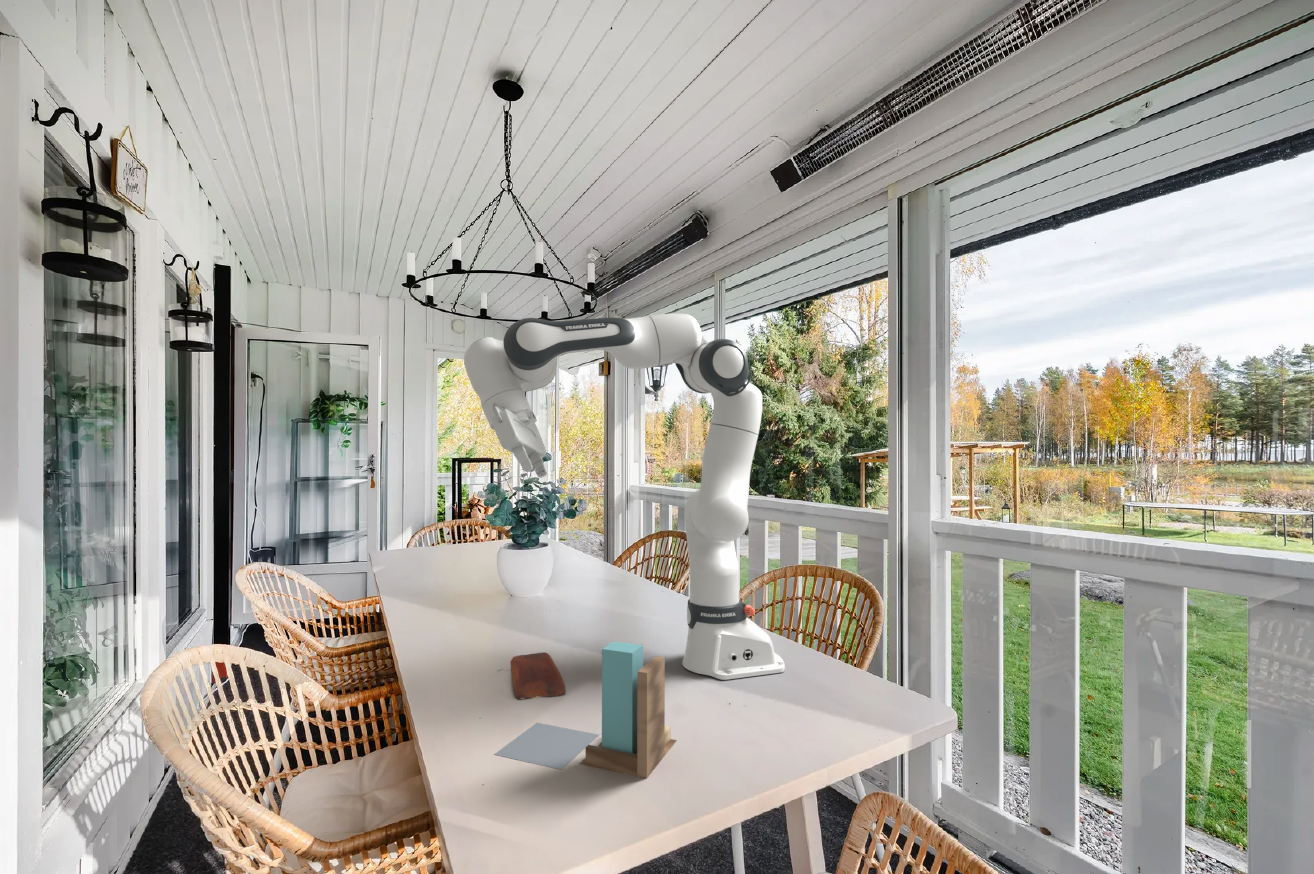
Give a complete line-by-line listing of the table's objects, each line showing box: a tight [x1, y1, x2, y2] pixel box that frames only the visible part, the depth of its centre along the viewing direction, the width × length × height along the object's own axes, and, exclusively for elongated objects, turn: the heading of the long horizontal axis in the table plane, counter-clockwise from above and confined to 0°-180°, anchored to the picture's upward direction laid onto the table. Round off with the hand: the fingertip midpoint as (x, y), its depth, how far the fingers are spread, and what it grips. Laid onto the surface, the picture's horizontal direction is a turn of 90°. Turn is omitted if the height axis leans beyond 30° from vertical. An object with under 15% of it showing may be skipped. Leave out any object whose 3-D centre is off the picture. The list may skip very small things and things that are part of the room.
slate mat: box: [493, 722, 600, 771], centre depth 99 cm, size 12×12×1 cm
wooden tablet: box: [510, 652, 566, 701], centre depth 133 cm, size 27×10×2 cm, turn 16°
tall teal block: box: [601, 641, 644, 754], centre depth 95 cm, size 4×5×17 cm
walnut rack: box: [579, 656, 678, 779], centre depth 97 cm, size 12×11×16 cm
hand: (536, 473), depth 123 cm, fingers open, 8 cm apart
